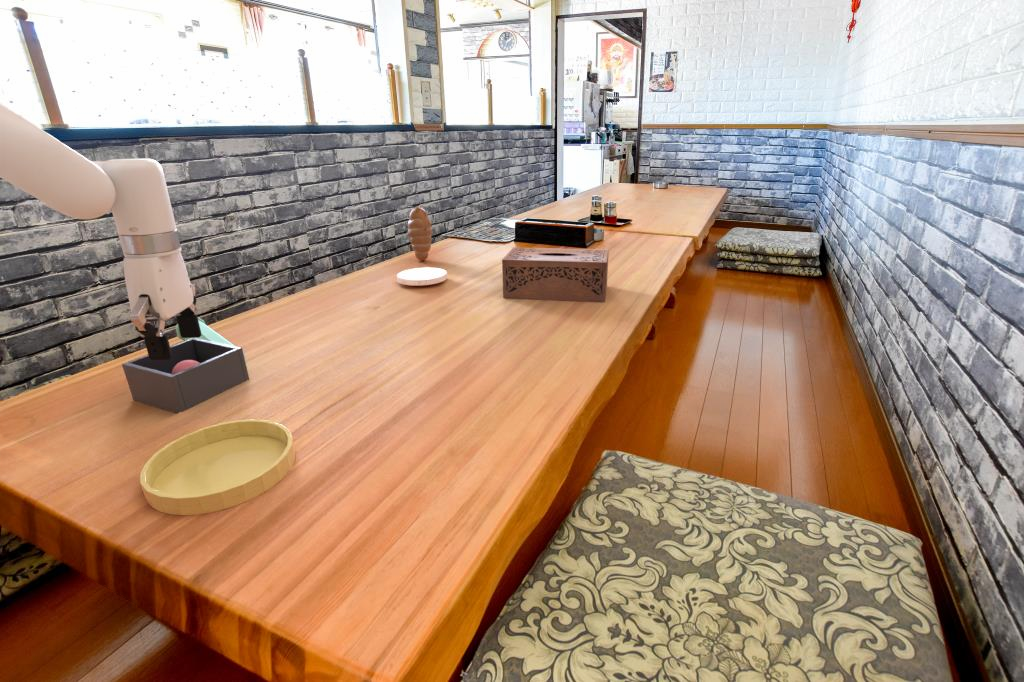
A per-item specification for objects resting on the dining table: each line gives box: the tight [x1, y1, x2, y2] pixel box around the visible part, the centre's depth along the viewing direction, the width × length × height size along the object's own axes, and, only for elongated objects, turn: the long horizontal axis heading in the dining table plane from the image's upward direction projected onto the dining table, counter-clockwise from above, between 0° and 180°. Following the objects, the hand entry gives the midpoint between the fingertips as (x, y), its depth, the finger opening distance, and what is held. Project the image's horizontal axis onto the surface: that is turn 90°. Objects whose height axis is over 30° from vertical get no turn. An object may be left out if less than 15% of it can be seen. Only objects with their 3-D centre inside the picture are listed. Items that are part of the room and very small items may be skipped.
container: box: [174, 317, 247, 364], centre depth 104 cm, size 6×6×25 cm
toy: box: [172, 360, 200, 375], centre depth 89 cm, size 5×5×5 cm
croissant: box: [407, 204, 433, 262], centre depth 172 cm, size 9×8×18 cm
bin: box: [121, 338, 250, 414], centre depth 89 cm, size 13×13×7 cm
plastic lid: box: [396, 266, 448, 287], centre depth 151 cm, size 14×14×2 cm
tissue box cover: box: [501, 246, 610, 303], centre depth 138 cm, size 26×14×10 cm, turn 79°
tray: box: [139, 418, 296, 516], centre depth 68 cm, size 17×17×3 cm
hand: (177, 347), depth 87 cm, fingers open, 9 cm apart
